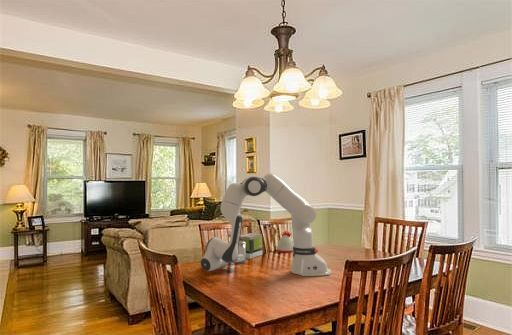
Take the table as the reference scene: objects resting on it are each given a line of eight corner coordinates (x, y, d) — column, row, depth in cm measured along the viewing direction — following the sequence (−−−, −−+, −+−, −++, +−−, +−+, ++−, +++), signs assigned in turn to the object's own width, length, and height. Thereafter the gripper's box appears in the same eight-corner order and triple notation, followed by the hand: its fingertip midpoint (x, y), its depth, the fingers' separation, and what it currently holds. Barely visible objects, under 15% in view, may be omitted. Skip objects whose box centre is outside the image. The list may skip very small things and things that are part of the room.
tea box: (251, 253, 245) (251, 232, 246) (262, 255, 239) (262, 233, 240) (237, 257, 233) (237, 235, 234) (249, 259, 227) (249, 236, 228)
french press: (242, 264, 214) (242, 238, 214) (234, 263, 217) (234, 238, 217) (249, 261, 221) (249, 236, 221) (241, 260, 224) (241, 236, 224)
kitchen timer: (290, 253, 244) (289, 232, 245) (273, 251, 251) (273, 231, 252) (298, 250, 256) (298, 230, 256) (282, 248, 263) (282, 228, 264)
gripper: (236, 254, 194) (249, 250, 206) (207, 251, 204) (221, 247, 216) (236, 266, 194) (249, 261, 206) (207, 262, 204) (221, 257, 216)
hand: (234, 254), depth 211 cm, fingers open, 8 cm apart
